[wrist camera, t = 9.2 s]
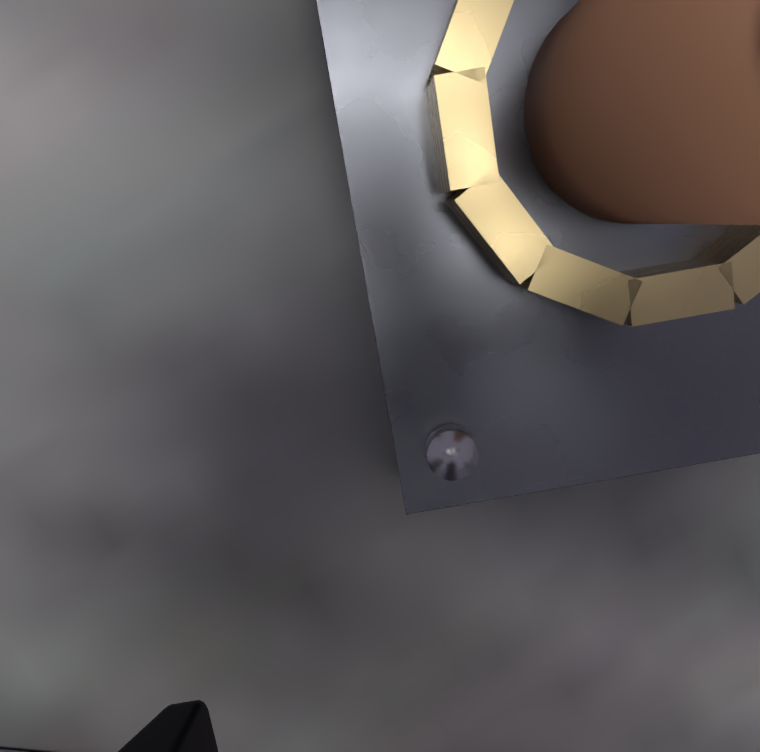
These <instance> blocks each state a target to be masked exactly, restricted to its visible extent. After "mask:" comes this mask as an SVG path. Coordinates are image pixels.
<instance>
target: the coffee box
mask: <svg viewBox="0 0 760 752" xmlns="http://www.w3.org/2000/svg"><path fill="white" fill-rule="evenodd" d="M0 752H27V751H17V750H7V749H0Z"/></svg>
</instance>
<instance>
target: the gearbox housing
mask: <svg viewBox="0 0 760 752" xmlns="http://www.w3.org/2000/svg"><path fill="white" fill-rule="evenodd" d="M316 1H317V6H318V12H319V18H320V24H321V29H322V35H323V41H324V46H325V52H326V58H327V64H328V69H329V75H330V81H331V87H332V92H333V98H334V104H335V109H336V115H337V121H338V127H339V132H340V138H341V144H342V150H343V155H344V161H345V167H346V172H347V178H348V184H349V190H350V195H351V201H352V207H353V213H354V218H355V224H356V230H357V235H358V241H359V247H360V253H361V258H362V264H363V270H364V276H365V281H366V287H367V293H368V298H369V304H370V310H371V316H372V321H373V327H374V333H375V339H376V344H377V350H378V356H379V361H380V367H381V373H382V379H383V384H384V390H385V396H386V402H387V407H388V413H389V419H390V424H391V430H392V436H393V442H394V447H395V453H396V459H397V465H398V470H399V476H400V482H401V487H402V493H403V499H404V505H405V510H406V514H412V513H418V512H423V511H429V510H435V509H441V508H446V507H452V506H458V505H464V504H469V503H475V502H481V501H487V500H492V499H498V498H504V497H510V496H515V495H521V494H527V493H533V492H539V491H544V490H550V489H556V488H562V487H567V486H573V485H579V484H585V483H590V482H596V481H602V480H608V479H613V478H619V477H625V476H631V475H636V474H642V473H648V472H654V471H659V470H665V469H671V468H677V467H682V466H688V465H694V464H700V463H706V462H711V461H717V460H723V459H729V458H734V457H740V456H746V455H752V454H757V453H760V225H705V224H623V223H613V222H607V221H603V220H600V219H596V218H593V217H590V216H588V215H586V214H584V213H582V212H580V211H578V210H576V209H575V208H573V207H572V206H570V205H569V204H567V203H566V202H565V201H564V200H563V199H561V198H560V197H559V196H558V195H557V194H556V193H555V192H554V191H553V190H552V188H551V187H550V186H549V185H548V184H547V183H546V181H545V180H544V178H543V177H542V175H541V173H540V172H539V170H538V168H537V166H536V164H535V162H534V160H533V158H532V155H531V152H530V149H529V146H528V143H527V137H526V132H525V126H524V98H525V91H526V85H527V80H528V77H529V73H530V70H531V67H532V64H533V62H534V59H535V57H536V55H537V53H538V51H539V48H540V47H541V45H542V44H543V42H544V40H545V39H546V37H547V35H548V34H549V33H550V31H551V30H552V29H553V28H554V26H555V25H556V24H557V23H558V21H559V20H560V19H561V18H562V17H563V16H565V15H566V14H567V13H568V12H569V11H570V10H571V9H572V8H573V7H574V6H575V5H576V4H577V3H578V2H579V1H580V0H316Z"/></svg>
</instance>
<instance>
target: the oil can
mask: <svg viewBox="0 0 760 752" xmlns="http://www.w3.org/2000/svg"><path fill="white" fill-rule="evenodd" d="M524 126H525V132H526V137H527V143H528V146H529V149H530V152H531V155H532V158H533V160H534V162H535V164H536V166H537V168H538V170H539V172H540V173H541V175H542V177H543V178H544V180H545V181H546V183H547V184H548V185H549V186H550V187H551V188H552V190H553V191H554V192H555V193H556V194H557V195H558V196H559V197H560V198H561V199H563V200H564V201H565V202H566V203H567V204H569V205H570V206H572V207H573V208H575V209H576V210H578V211H580V212H582V213H584V214H586V215H588V216H590V217H593V218H596V219H600V220H603V221H607V222H613V223H623V224H705V225H760V0H580V1H579V2H578V3H577V4H576V5H575V6H574V7H573V8H572V9H571V10H570V11H569V12H568V13H567V14H566V15H565V16H563V17H562V18H561V19H560V20H559V21H558V23H557V24H556V25H555V26H554V28H553V29H552V30H551V31H550V33H549V34H548V35H547V37H546V39H545V40H544V42H543V44H542V45H541V47H540V48H539V51H538V53H537V55H536V57H535V59H534V62H533V64H532V67H531V70H530V73H529V77H528V80H527V85H526V91H525V98H524Z"/></svg>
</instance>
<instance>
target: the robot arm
mask: <svg viewBox="0 0 760 752" xmlns="http://www.w3.org/2000/svg"><path fill="white" fill-rule="evenodd" d="M118 752H218V748H217V744H216V740H215V736H214V732H213V728H212V723H211V719H210V715H209V711H208V708H207V706H206V705H205V703H204V702H202V701H201V700H196V701H190V702H183V703H177V704H172V705H169V706H167V707H166V708H165V709H164V710H163V711H162V712H160V713H159V714H158V715H157V716H156V717H155V718H154V719H153V720H152V721H151V722H150V723H149V724H147V725H146V726H145V727H144V728H143V729H142V730H141V731H140V732H139V733H138V734H137V735H136V736H134V737H133V738H132V739H131V740H130V741H129V742H128V743H127V744H126V745H125V746H124V747H123V748H121V749H120V750H119V751H118Z"/></svg>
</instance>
